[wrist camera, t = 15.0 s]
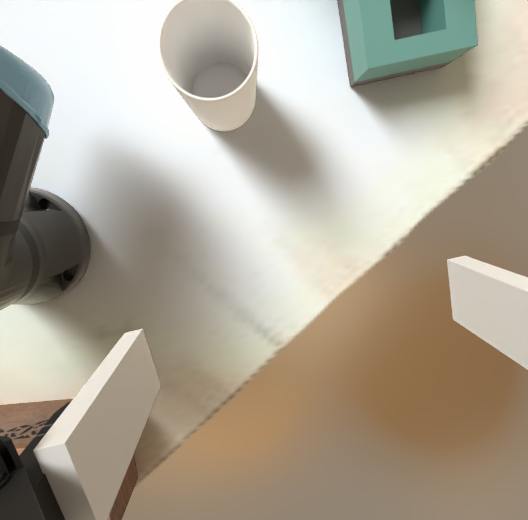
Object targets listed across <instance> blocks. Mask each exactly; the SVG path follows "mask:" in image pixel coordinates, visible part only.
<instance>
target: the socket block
mask: <svg viewBox="0 0 528 520" xmlns="http://www.w3.org/2000/svg"><path fill="white" fill-rule="evenodd" d="M337 1H338V8H339V15H340V21H341V28H342V35H343V42H344V49H345V55H346V62H347V69H348V76H349V82H350V87H352V86H357V85H361V84H366V83H371V82H375V81H380V80H385V79H389V78H394V77H399V76H403V75H408V74H412V73H417V72H422V71H426V70H431V69H436V68H440V67H444V66H445V65H447V64H448V63H450V62H452V61H453V60H455V59H456V58H458V57H460V56H461V55H463V54H464V53H466V52H467V51H469V50H471V49H472V48H474V47H475V46H477V45H478V40H477V27H476V14H475V1H474V0H337Z"/></svg>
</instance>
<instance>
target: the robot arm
mask: <svg viewBox="0 0 528 520" xmlns="http://www.w3.org/2000/svg"><path fill="white" fill-rule="evenodd" d="M53 103H54V96H53V92H52V90H51V88H50V86H49V84H48V83H47V82H46V80H45V79H44V78H43V77H42V76H41V75H40V74H39V73H38V72H37V71H36V70H34V69H33V68H32V67H31V66H29V65H28V64H27V63H25V62H24V61H22V60H21V59H20V58H18V57H17V56H15V55H14V54H12V53H11V52H9V51H8V50H6V49H5V48H3V47H2V46H0V310H2V309H4V308H6V307H7V306H9V305H14V304H37V303H42V302H46V301H50V300H52V299H55V298H57V297H59V296H60V295H62V294H64V293H66V292H67V291H69V290H70V289H72V288H73V287H74V286H75V285H76V284H77V283H78V282H79V281H80V280H81V278H82V277H83V275H84V273H85V271H86V269H87V267H88V263H89V259H90V241H89V236H88V233H87V230H86V228H85V225H84V223H83V221H82V220H81V218H80V217H79V215H78V214H77V213H76V211H75V210H74V209H73V208H72V207H71V206H70V205H69V204H68V203H66V202H65V201H64V200H63V199H61V198H60V197H58V196H56V195H54V194H52V193H50V192H48V191H45V190H41V189H37V188H31V187H30V186H31V183H32V179H33V176H34V172H35V169H36V165H37V162H38V159H39V155H40V152H41V148H42V145H43V142H44V138H45V139H47V138H48V136H49V130H48V124H49V120H50V116H51V112H52V108H53ZM447 264H448V274H449V284H450V294H451V304H452V314H453V320H455V321H456V322H458V323H459V324H461V325H462V326H464V327H465V328H467V329H468V330H470V331H471V332H473V333H474V334H476V335H477V336H479V337H480V338H481V339H483V340H484V341H486V342H488V343H489V344H491V345H492V346H494V347H495V348H496V349H498V350H499V351H501V352H502V353H504V354H505V355H507V356H508V357H510V358H511V359H513V360H514V361H516V362H517V363H519V364H520V365H522V366H523V367H525V368H526V369H528V278H527V277H524V276H521V275H519V274H516V273H513V272H510V271H507V270H504V269H501V268H498V267H496V266H493V265H490V264H487V263H484V262H481V261H478V260H475V259H473V258H470V257H467V256H462V257H457V258H453V259H448V260H447ZM160 387H161V383H160V380H159V377H158V374H157V371H156V368H155V365H154V362H153V359H152V356H151V352H150V349H149V346H148V343H147V340H146V337H145V334H144V331H143V329H139V330H134V331H130V332H125V333H124V335H123V336H122V337H121V338H120V340H119V341H118V342H117V343H116V345H115V346H114V347H113V349H112V350H111V351H110V352H109V354H108V355H107V356H106V358H105V359H104V360H103V361H102V363H101V364H100V365H99V367H98V368H97V369H96V370H95V372H94V373H93V374H92V376H91V377H90V378H89V379H88V381H87V382H86V383H85V385H84V386H83V387H82V388H81V390H80V391H79V392H78V394H77V395H76V396H75V397H74V399H73V400H72V401H70V402H67V403H66V404H65V405H64V406H62V407H61V408H60V409H59V410H57V411H56V412H55V413H54V414H53V415H52V416H51V417H50V419H49V420H48V421H47V422H46V423H45V425H44V427H42V428H41V430H40V431H39V432H38V433H37V436H36V437H34V438H33V439H32V441H31V442H30V443H29V444H28V446H27V447H26V448H25V449H24V450H23V452H22V453H21V454H20V455H18V453H17V450H16V448H15V446H14V444H13V441H12V439H11V438H9V437H8V436H0V520H107V518H108V516H109V513H110V511H111V509H112V506H113V504H114V501H115V499H116V496H117V494H118V491H119V489H120V486H121V484H122V481H123V479H124V476H125V474H126V471H127V469H128V466H129V464H130V462H131V459H132V457H133V454H134V452H135V449H136V447H137V444H138V442H139V439H140V437H141V434H142V432H143V429H144V427H145V424H146V422H147V419H148V417H149V415H150V412H151V410H152V407H153V405H154V402H155V400H156V397H157V395H158V392H159V390H160Z"/></svg>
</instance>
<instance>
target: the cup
mask: <svg viewBox="0 0 528 520" xmlns="http://www.w3.org/2000/svg"><path fill="white" fill-rule="evenodd" d="M158 53H159V58H160V61H161V64H162V67H163V69H164V72H165V74H166V75H167V77H168V79H169V80H170V81H171V83H172V84H173V86H174V87H175V88H176V90H177V91H178V92H179V94H180V95H181V96H182V98H183V99H184V100H185V101H186V103H187V104H188V105H189V107H190V108H191V109H192V111H193V112H194V113H195V115H196V116H197V117H198V119H199V120H200V121H201V122H202V123H203V124H205V125H206V126H207V127H209V128H211V129H214V130H217V131H231V130H234V129H237V128H239V127H240V126H242V125H243V124H244V123H245V122H246V121H247V120H248V119H249V118H250V116H251V114H252V112H253V110H254V107H255V101H256V85H257V66H258V41H257V36H256V32H255V29H254V26H253V24H252V22H251V20H250V18H249V16H248V15H247V13H246V12H245V11H244V10H243V8H242V7H241V6H240V5H239V4H237V3H236V2H235V1H234V0H178V1H177V2H176V3H175V4H173V6H172V7H171V8H170V9H169V10H168V12H167V13H166V15H165V16H164V18H163V21H162V23H161V26H160V30H159V34H158Z"/></svg>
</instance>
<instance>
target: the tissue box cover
mask: <svg viewBox="0 0 528 520" xmlns="http://www.w3.org/2000/svg"><path fill="white" fill-rule="evenodd" d="M72 400H73V399H66V400H54V401H43V402H31V403H19V404H7V405H0V436H8V437H9V438H11V439H12V441H13V444H14V446H15V448H16V450H17V453H18V455H20V454H21V453H22V452H23V450H24V449H25V448H26V447H27V446H28V444H29V443H30V442H31V441H32V439H33V438H34V437H36V436H37V433H38V432H39V431H40V430H41V428H42V427H44V425H45V423H46V422H47V421H48V420H49V419H50V417H51V416H52V415H53V414H54V413H55V412H56V411H57V410H59V409H60V408H61V407H62V406H64V405H65V404H66V403H67V402H70V401H72ZM137 479H138V477H137V471H136V465H135V459H134V454H133V457H132V459H131V462H130V464H129V466H128V469H127V471H126V474H125V476H124V479H123V481H122V484H121V486H120V489H119V491H118V494H117V496H116V499H115V501H114V504H113V506H112V509H111V511H110V513H109V516H108V518H107V520H121V519H122V517H123V515H124V512H125V510H126V507H127V504H128V502H129V499H130V497H131V494H132V492H133V489H134V487H135V484H136V481H137Z"/></svg>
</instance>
